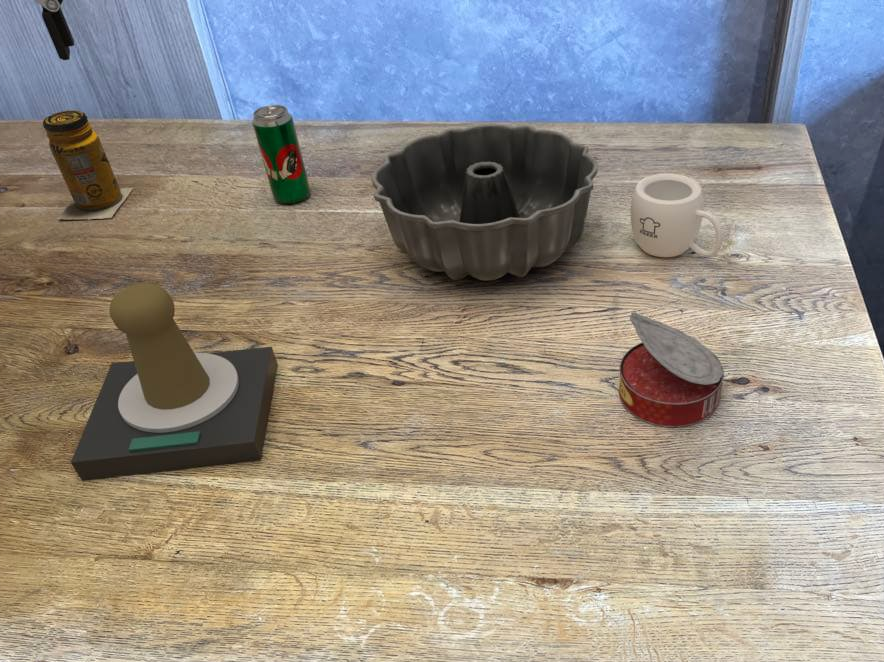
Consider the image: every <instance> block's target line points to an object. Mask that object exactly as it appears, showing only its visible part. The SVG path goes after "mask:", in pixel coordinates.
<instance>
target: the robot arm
mask: <svg viewBox="0 0 884 662" xmlns="http://www.w3.org/2000/svg"><path fill="white" fill-rule="evenodd" d="M33 1H34V2H35V3H37V4H39V5H40V6H41V7H42V8H41V9H42V11H41V17H42V20H43V22H44V25H45V27H46V30H47V32H48V35H49V36H50V39H51V41H52V43H53V46H54V49H55V51H56V54H57V55H58V58H59V59H60V60H62V61H68V60H69V61H70V59H71V58H70V57H71V55H70V54H71V49H70V47H74V46H75V40H74V37H73V34H72V32H71V30H70V28H69V25H68V23H67V20H66V17H65V15H64V13H63V12H64V11H63V10H62V7H61V5H62V3H63V2H64V0H33Z"/></svg>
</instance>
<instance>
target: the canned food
mask: <svg viewBox="0 0 884 662" xmlns="http://www.w3.org/2000/svg"><path fill="white" fill-rule="evenodd" d="M629 321H630V322H631V324H632V326H633V327H634V329H635V332H636V335H637V336H638V338H639V340H640V341H641V342H639V343H637V344H636V345H634V346H632V347H631V348H630V349H629V350H628V351H626V353H625V354H624V355H623V357H622V358H621V361H620V364H619V384H618V395H619V399H620V402H621V404H622V405H623V408H625V410H626V411H628V412H629V413H630V415H632V416H634V417H635V418H637V419H638V420H640V421H643V422H644V423H647V424H650V425H653V426H658V427H665V428H683V427H690V426H693V425H696V424H698V423H701V422H703V421H705V420H706V419H708V418H709V417H711V416H712V415H713V414H714V413H715V412H716V410H717V409H718V407H719V406H720V402H721V397H722V396H721V393H722V390H723V389H722V388H723V382H724V377H725V371H724V366H723V364H722V362H721V360H720V359H719V357H718V356H717V355H716V354H715V353H714V352H713V351H712V350H711V349H710V348H708V347H706V346H705V345H704V344H703V343H701V342H700V341H699V340H698V339H697V338H695V337H692V336H691V335H688V334H686V333H685V332H683V331H682V330H681V329H678V328H676V327H672V326H670V325H667V324H665V323H664V322H661V321H658V320H655V319H653V318H651V317H650V318H649V317H647V316H645V315H640V314H639V313H637V312H631V313H630V316H629Z"/></svg>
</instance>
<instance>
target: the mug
mask: <svg viewBox="0 0 884 662" xmlns="http://www.w3.org/2000/svg"><path fill="white" fill-rule="evenodd" d="M704 203H705V201H704V192H703V189H702V187H701V185H700V184H699V182H698V181H696V180H695V179H693V178H691V177H690V176H686V175H683V174H678V173H669V172H668V173H657V174H651V175H649V176H646V177H644V178H642V179H640V180H639V181H638V182H637V184H636V185H635V188H634V189H633V191H632V196H631V201H630V225H631V229H632V233H633V234H632V235H633V236H634V239H635V241H636V244H637V245H638V246H639V248H640V249H641V250H642V251H643V252H645V253H646V254H648V255H650V256H653V257H659V258H673V257H677V256H680V255H682V254H684V253H685V252H687V250H689V249H691V250H693V252H694V253H696V254H698V255H699V256H702V257H707V258H709V257H714V256H715V255H717V253H719V251H720V250H721V246H722V244H723V230H722V226H721V224H720V221H719V220H718V219H717V217H716V216H715V215H714V214H713V213H711V212H710V211H706V210H704ZM703 218H705V219H707V220H708V221H710V223H711V224H712V226H713V227H714V228H713V229H714V231H715V243H714V246H713V248H711V249H710V250H705V249H703V248H701V247H700V246H699V245H698V244H696V242H695V241H696V239H697V236H698V233H699V232H700V228H701V225H702V221H703Z"/></svg>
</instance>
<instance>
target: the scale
mask: <svg viewBox="0 0 884 662" xmlns="http://www.w3.org/2000/svg"><path fill="white" fill-rule="evenodd" d="M194 354H195V355H196V357H197V358H198V360H199V362H200V363H201V365H202V367H203V368H204V370H205V372H206V373H207V375H208V376H209V378H210V385H209V387H208V389H207V391H206V392H205V393H204V394H203V396H202V397H200V398H199V399H198V400H196V401H195V402H193V403H191V404H189V405H186V406H184V407H180V408H176V409H167V410H161V409H157V408H153V407H152V406H150V405H148V404H147V402H146V400H145V398H144V395H143V391H142V388H141V384H140V381H139V377H138V374H137V370H136V367H135V363H134V360H130V361H129V360H128V361H121V362H120V361H119V362H112V363H111V364H110V366H109V369H108V371H107V373H106V376H105V378H104V381H103V382H102V385H101V388H100V390H99V392H98V395H97V397H96V400H95V402H94V405H93V407H92V409H91V412H90V415H89V417H88V419H87V422H86V424H85V427H84V429H83V431H82V433H81V436H80V439H79V441H78V444H77V446H76V448H75V451H74V453H73V455H72V458H71V460H70V464H71V466H72V467H73V469H74V470H75V472H76V474H77V475H78V477H79V478H80V480H81V481H88V480H99V479H108V478H115V477H124V476H134V475H142V474H151V473H159V472H160V473H161V472H167V471H168V472H169V471H176V470H178V471H179V470H185V469H186V470H187V469H193V468H195V469H196V468H204V467H213V466H221V465H230V464H239V463H247V462H257V461H262V456H263V450H264V445H265V438H266V435H267V434H266V433H267V427H268V422H269V417H270V416H269V415H270V409H271V405H272V399H273V393H274V389H275V388H274V387H275V383H276V376H277V370H278V361H277V358H276V355H275V352H274V349H273V347H272V346H264V347H256V348H246V349H244V348H243V349H236V350H225V351H217V352H215V351H214V352H207V353H206V352H194Z"/></svg>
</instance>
